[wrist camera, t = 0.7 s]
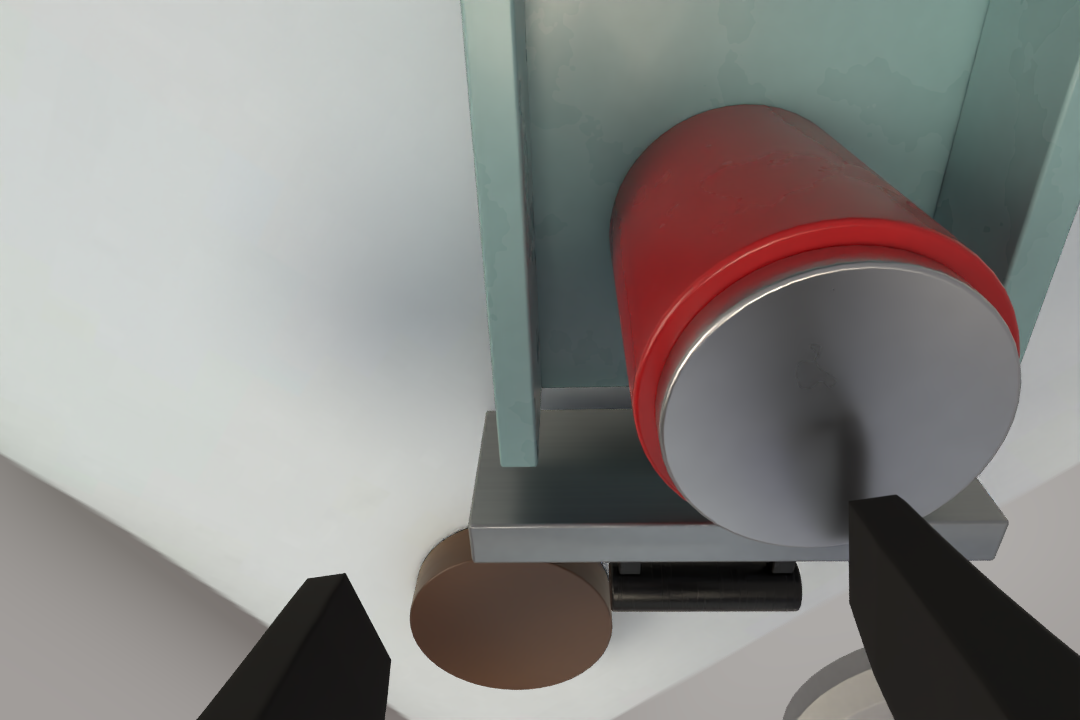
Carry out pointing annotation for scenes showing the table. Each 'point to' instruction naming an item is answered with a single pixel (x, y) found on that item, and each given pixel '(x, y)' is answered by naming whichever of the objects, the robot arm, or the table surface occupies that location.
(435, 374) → the table surface
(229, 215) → the table surface
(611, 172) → the drawer
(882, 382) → the can
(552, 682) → the stand
